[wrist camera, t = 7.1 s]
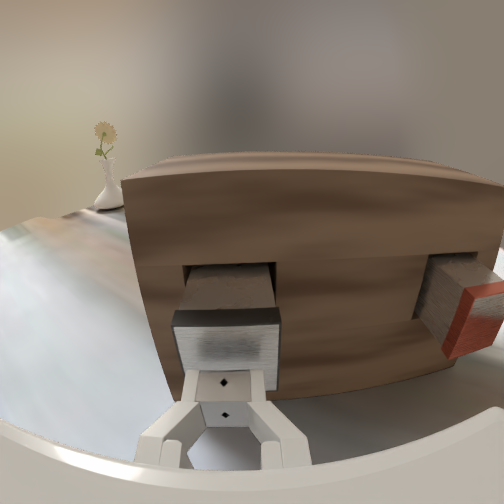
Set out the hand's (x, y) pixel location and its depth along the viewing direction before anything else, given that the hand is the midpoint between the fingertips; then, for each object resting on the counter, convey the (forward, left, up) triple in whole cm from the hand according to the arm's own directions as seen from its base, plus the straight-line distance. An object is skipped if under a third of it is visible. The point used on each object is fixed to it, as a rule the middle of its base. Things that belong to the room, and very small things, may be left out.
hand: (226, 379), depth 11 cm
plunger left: (+3, +4, -2) cm, 5 cm away
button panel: (+12, +4, -9) cm, 15 cm away
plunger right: (+14, -4, -2) cm, 15 cm away
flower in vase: (+9, +76, -9) cm, 77 cm away
